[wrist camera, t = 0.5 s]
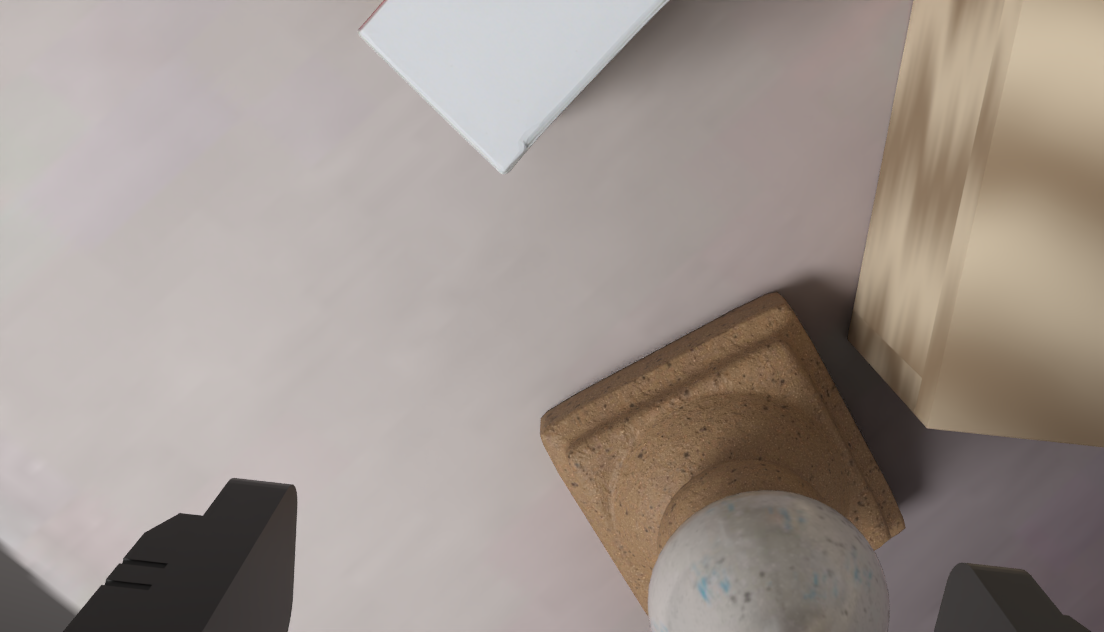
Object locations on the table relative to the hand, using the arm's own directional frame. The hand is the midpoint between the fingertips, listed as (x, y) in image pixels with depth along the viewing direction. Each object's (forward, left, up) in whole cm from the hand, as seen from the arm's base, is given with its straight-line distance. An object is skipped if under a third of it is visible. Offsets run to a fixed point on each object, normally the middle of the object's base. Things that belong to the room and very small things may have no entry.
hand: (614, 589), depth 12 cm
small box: (-7, -2, -27) cm, 28 cm away
